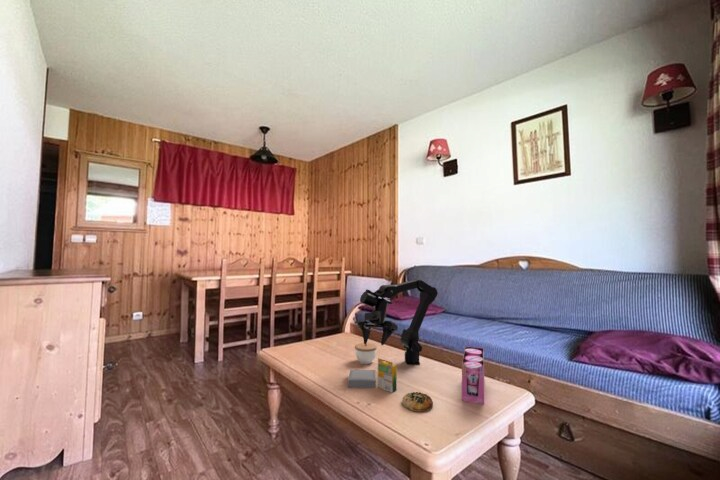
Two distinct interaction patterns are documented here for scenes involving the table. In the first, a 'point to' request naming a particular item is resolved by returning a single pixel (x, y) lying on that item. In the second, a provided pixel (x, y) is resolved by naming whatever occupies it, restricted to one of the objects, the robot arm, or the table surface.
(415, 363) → the robot arm
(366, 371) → the tray
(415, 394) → the bread roll
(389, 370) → the crayon box
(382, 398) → the table surface
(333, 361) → the table surface
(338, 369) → the table surface
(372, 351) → the lidded jar
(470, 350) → the pink product box
